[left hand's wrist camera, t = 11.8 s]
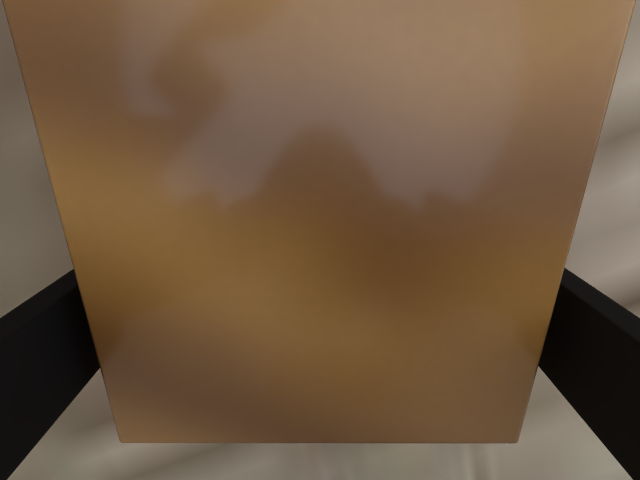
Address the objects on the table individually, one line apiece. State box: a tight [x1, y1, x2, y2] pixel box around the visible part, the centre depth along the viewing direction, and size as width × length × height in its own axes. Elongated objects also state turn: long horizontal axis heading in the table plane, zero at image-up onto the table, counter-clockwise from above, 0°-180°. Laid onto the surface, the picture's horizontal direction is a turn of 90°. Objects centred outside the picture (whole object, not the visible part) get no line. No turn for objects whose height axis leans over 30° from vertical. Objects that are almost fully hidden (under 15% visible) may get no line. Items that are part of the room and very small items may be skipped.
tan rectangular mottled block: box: [2, 0, 636, 443], centre depth 12 cm, size 17×11×11 cm, turn 0°
